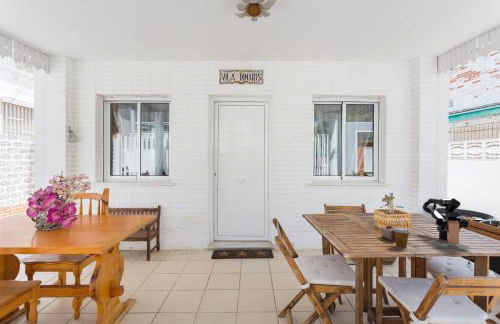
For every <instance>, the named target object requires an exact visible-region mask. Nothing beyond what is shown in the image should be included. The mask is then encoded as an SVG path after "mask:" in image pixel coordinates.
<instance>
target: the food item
mask: <svg viewBox="0 0 500 324" xmlns="http://www.w3.org/2000/svg"><path fill="white" fill-rule="evenodd" d="M380 235H381V238H384V239H387V240H389V241H391V242H396V239H395V231H394V227H393V226H392V225H386V226H385V225H383V226H381V227H380Z"/></svg>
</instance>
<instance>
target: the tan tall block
mask: <svg viewBox="0 0 500 324" xmlns="http://www.w3.org/2000/svg"><path fill="white" fill-rule="evenodd" d="M458 221H459V220H456V221H448V230H449V233H448V232H447V240H448V242H449V243H458V244H460V231H459V222H458ZM447 240H446V241H447Z"/></svg>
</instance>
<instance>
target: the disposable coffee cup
mask: <svg viewBox="0 0 500 324" xmlns="http://www.w3.org/2000/svg"><path fill="white" fill-rule="evenodd" d="M393 229H394V231H395V239H396V241H395V246H397V247H398V248H407V246H408V240H409V233H410V230H409V228H406V227H401V226H397V227H396V226H395V227H393Z"/></svg>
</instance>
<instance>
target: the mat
mask: <svg viewBox="0 0 500 324" xmlns="http://www.w3.org/2000/svg"><path fill="white" fill-rule="evenodd" d="M424 243H425V244H427V245H429V246H432V247H434V248H436V249H439V250H461V249H463V250H468V249H469V250H471V249H472V247H469V246H466V245H463V244H462V243H459V244H458V243H456V246H451V245H450V243H449V242H448V241H447V240H443V241H424Z"/></svg>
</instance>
